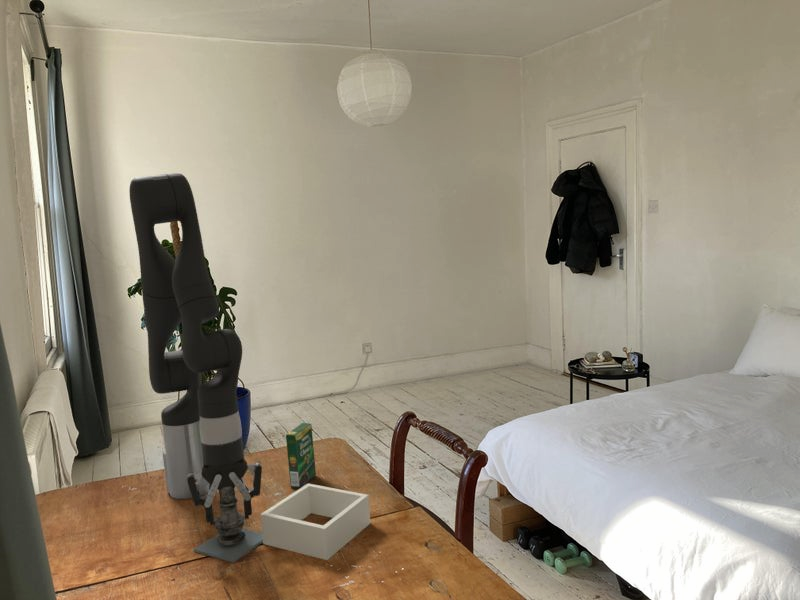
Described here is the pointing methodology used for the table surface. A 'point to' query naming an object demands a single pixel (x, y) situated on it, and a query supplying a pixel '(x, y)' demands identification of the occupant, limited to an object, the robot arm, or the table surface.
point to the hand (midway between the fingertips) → (229, 519)
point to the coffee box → (300, 455)
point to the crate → (312, 538)
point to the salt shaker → (229, 518)
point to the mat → (230, 547)
